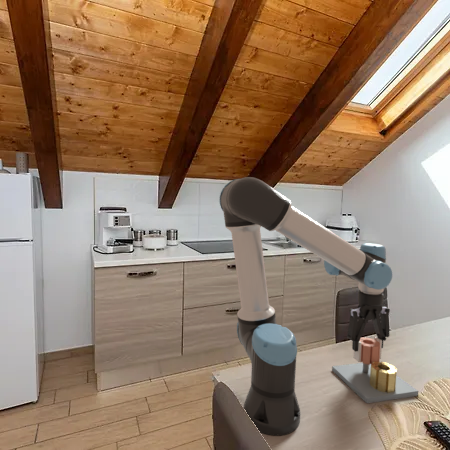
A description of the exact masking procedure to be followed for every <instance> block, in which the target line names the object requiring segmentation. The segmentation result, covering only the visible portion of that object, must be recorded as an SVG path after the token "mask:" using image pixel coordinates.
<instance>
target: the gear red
mask: <svg viewBox="0 0 450 450" xmlns="http://www.w3.org/2000/svg"><path fill="white" fill-rule="evenodd" d="M360 342H362V345H361V362H360V363H364V364H368V365H370V364H372V363H373V362H376V361H379V362H381V359H380V342H378V341H377V340H374V338H370V337H362V336H361V338H360Z"/></svg>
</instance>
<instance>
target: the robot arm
mask: <svg viewBox="0 0 450 450" xmlns="http://www.w3.org/2000/svg"><path fill="white" fill-rule="evenodd" d="M219 206H220V209H221V210H222V212H223V217H224V218H223V219H224V224H225V228H226V229H227V230H228V231H230V232H231V239H232V248H233V254H234V261H235V262H234V263H235V269H236V276H237V285H238V293H239V300H240V301H239V302H240V309H239V310H238V311H237V313H236V316H237V323H236V334H237V335H236V336H237V338H238V339H239V342H240V343H241V345H242V347H243V348H244V350H245V352H246V354H247V356H248V358H249V360H250V362H251V376H250V379H251V380H250V387H249V390H248V392H247V395H246V397H245V400H244V404H243V410H244V409H245V410H246V412H247V414H248V415H249V417H250V418H251V420H252V421H253V422H254V424H255V425H256V427H257V428H258V430H259V431H260V433H262V434H266V435H269V436H270V435H271V436H283V435H284V436H285V435H289V434H291V433H292V432H294V431H296V429H297V428H298V427H299V425H300V424H301V423H300V422H301V408H300V405H299V402H298V398H297V394H296V392H295V391H296V390H295V389H296V388H295V386H296V372H297V371H296V368H297V355H298V345H297V339H296V336H295V334H294V332H293V331H291V330H290V329H289V328H288V327H286V326H282V325H280V324H278V323H277V319H276V317H277V315H276V309H275V308H274V307H273V306H272V305H270V302H269V300H270V299H269V294H268V285H267V283H268V282H267V275H266V268H265V259H264V249H263V243H262V233H261V228H264V229H265V230H267V231H269V232H273V231H276V232H278V233H279V234H280V235H282V236H284V237H286V238H287V239H289V240H291V241H292V242H294V243H296V244H297V245H299V246H301V247H302V248H304V249H305V250H307V251H309V252H310V253H312V254H313V255H315V256H317V257H318V258H320V259H322V260H323V265H324V269H325V271H326V273H327V274H328V275H330V276H343V277H346V278H349V279H350V280H352V281H356V282H357V283H358V286H357V287H358V291H357V292H358V293H357V302H358V304H357V308H354V309H353V308H350V309H349V322H348V329H347V334H346V338H347V339H349V340H350V341H352V345H351V346H352V347H351V348H352V351H353V359H354V360H355V361H357V363H362V362H361V345H362V342H360V338H362V335H363V333H364V330H365V327H366V325H367V324H368V323H369V321H370V320H372V325H373V328H374V332H375V334H376V336H374V338H373V340H377V341H378V342H380V360H381V359H382V349H383V348H384V342H385V341H387V338H390V318H389V316H390V312H391V310H390V308H389V307H387V306H384V304H383V303H384V293H383V292H384V290H385V289H386V288H387V287H388V286H389V285H390V283H391V282H392V279H393V270H392V269H391V267H390V265H388V264H387V263H386V260H387V257H386V255H387V253H386V247H385V246H384V245H383V244H379V243H362V244H361V245H360V249H359V247H358V248H357V247H356V246H355V245H353V244H351V243H349V242H348V241H347V240H345V239H343V238H342V237H341V236H339V235H337V234H336V233H334V232H333V231H331V230H330V229H328V228H327V227H326V226H323V225H322V224H321V223H319V222H318V221H315V220H314V219H313V218H311V217H310V216H308V215H307V214H305V213H303V212H302V211H301V210H299V209H297V208H296V207H294V206H293V205H292V202H291V200H290V198H288V197H286V196H285V195H283V194H282V193H280V192H278V190H276V189H275V188H274V187H272V186H270V185H269V184H267V183H266V182H264V181H263V180H261V179H259V178H256V177H251V176H247V177H242V178H236V179H233V180H230V181H229V182H227V184H225V185H224V187H222V190H221V191H220V193H219ZM259 431H258V432H259Z"/></svg>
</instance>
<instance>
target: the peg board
mask: <svg viewBox="0 0 450 450" xmlns="http://www.w3.org/2000/svg"><path fill="white" fill-rule="evenodd" d="M382 370H385V369H382ZM331 371H332V372H333V373H334V374H335V375H337V377H338V378H340V380H342V381H343V383H345V384H346V386H348V387H349V388H350V389H351V390H352V391H353V392H354V393H355V394H356V395H357V396H358V397H359V398H360V399H362V401H364V403H366V404H370V403H371V404H372V403H378V402H385V401H390V400H397V399H405V398H412V397H417V395H418V396H419V390H418V389H416V388H415V387H414V386H413V385H411V384H409V382H407V381H406V380H404V378H403V379H402V378H401V377H400V376H399V375H397V374H396V387H395V391H394V392H391V393H387V392H381V391H378V390H377V389H374V388H373V387H372V386H371V385H370V372H371V364H370V365H368V364H364V363H362V362H357V363H349V364H339V365H332V366H331Z"/></svg>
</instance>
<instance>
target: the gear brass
mask: <svg viewBox="0 0 450 450" xmlns="http://www.w3.org/2000/svg"><path fill="white" fill-rule="evenodd" d="M382 369H385V370H382ZM397 371H398V368H396V366H394V365H393V364H389V363H388V362H385V361H376V362H373V363H372V364H371V372H370V385H371V386H372V387H373V388H374V389H377V390H378V391H381V392H387V393H391V392H394V391H395V387H396V375H397Z"/></svg>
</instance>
